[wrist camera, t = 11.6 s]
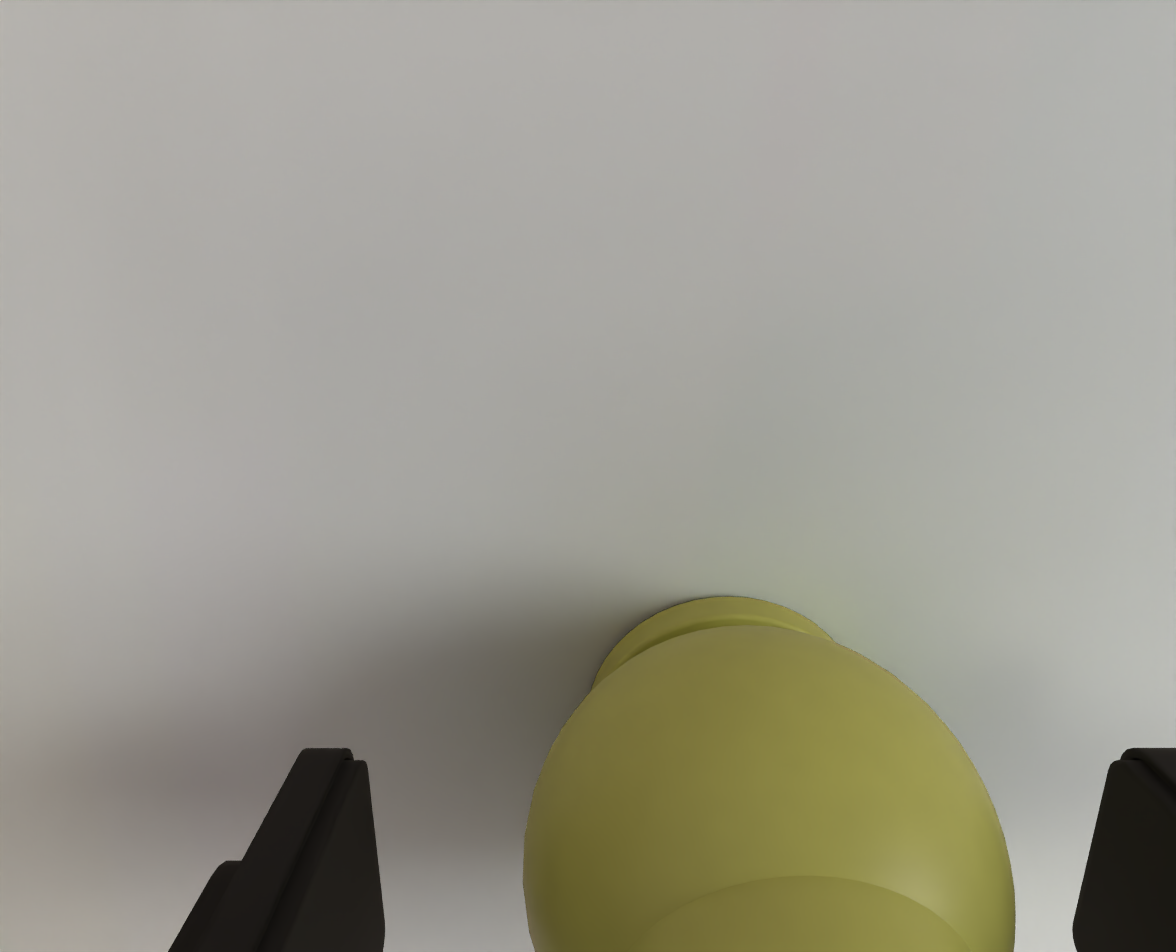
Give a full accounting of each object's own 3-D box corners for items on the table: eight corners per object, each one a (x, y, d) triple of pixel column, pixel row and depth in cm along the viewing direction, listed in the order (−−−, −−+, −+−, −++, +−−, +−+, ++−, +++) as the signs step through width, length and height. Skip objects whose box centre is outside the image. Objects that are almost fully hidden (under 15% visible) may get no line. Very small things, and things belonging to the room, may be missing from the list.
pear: (928, 548, 11) (1439, 1116, 4) (884, 859, 13) (1199, 1608, 6) (535, 548, 11) (430, 1103, 4) (544, 857, 13) (483, 1591, 6)
